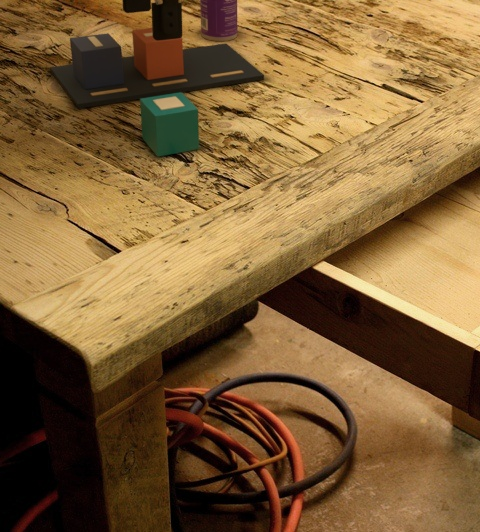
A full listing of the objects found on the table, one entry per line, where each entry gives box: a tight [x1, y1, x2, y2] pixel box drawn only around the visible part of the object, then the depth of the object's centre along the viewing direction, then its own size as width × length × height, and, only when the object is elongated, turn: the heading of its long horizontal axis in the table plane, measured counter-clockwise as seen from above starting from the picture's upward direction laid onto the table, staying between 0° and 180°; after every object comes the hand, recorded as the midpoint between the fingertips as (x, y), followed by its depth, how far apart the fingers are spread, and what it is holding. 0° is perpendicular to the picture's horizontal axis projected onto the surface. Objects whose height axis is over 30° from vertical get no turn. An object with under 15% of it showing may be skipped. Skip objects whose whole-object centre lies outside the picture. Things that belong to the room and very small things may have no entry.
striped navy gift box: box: [69, 32, 124, 89], centre depth 103 cm, size 4×4×4 cm
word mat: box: [49, 43, 265, 109], centre depth 108 cm, size 22×11×1 cm, turn 120°
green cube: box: [139, 92, 200, 158], centre depth 93 cm, size 4×4×4 cm
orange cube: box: [131, 27, 184, 80], centre depth 107 cm, size 4×4×4 cm
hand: (151, 24), depth 104 cm, fingers open, 9 cm apart
